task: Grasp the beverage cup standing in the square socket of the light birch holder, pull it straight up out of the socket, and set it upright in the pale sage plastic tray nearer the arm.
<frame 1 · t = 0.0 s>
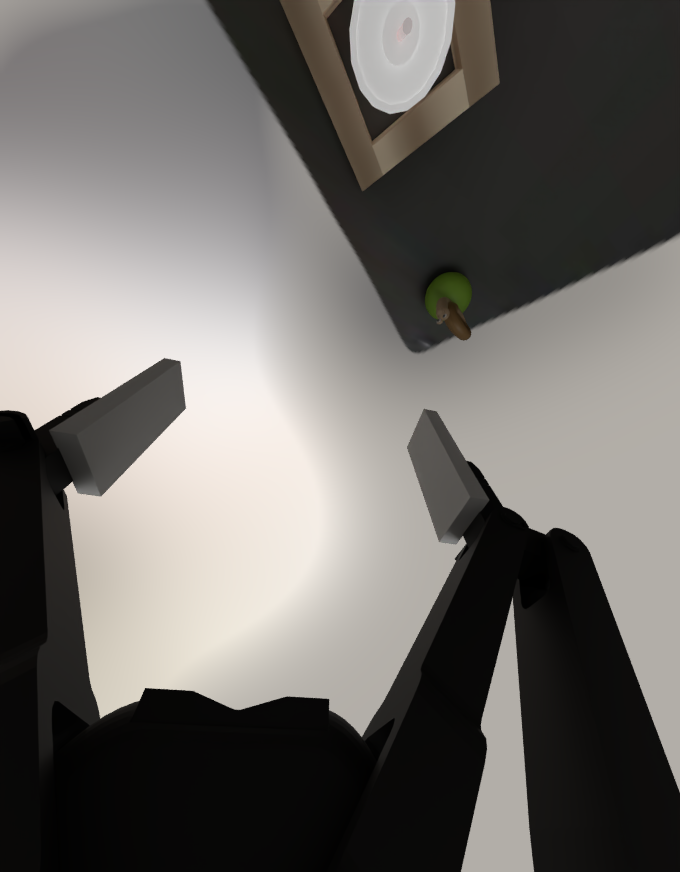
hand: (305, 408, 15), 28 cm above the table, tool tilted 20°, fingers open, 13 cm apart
beverage cup: (392, 45, 22), resting in socket holder
socket holder: (392, 44, 22), on the table
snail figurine: (441, 283, 36), on the table
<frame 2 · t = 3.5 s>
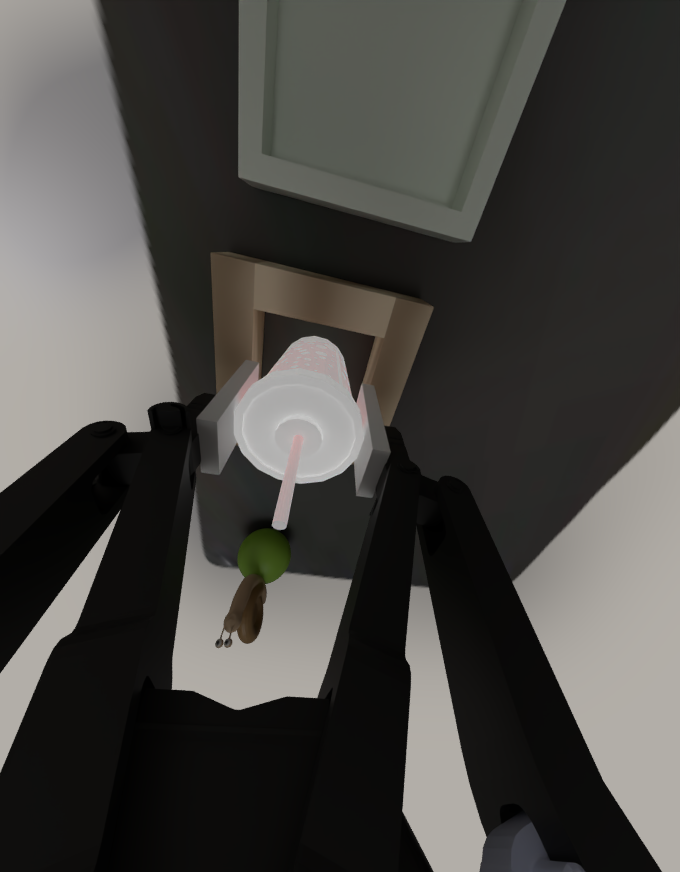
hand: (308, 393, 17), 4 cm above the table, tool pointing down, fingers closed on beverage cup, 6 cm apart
beverage cup: (314, 367, 20), resting in socket holder, touching gripper
socket holder: (314, 367, 20), on the table
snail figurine: (269, 529, 31), on the table
tray: (390, 52, 12), on the table
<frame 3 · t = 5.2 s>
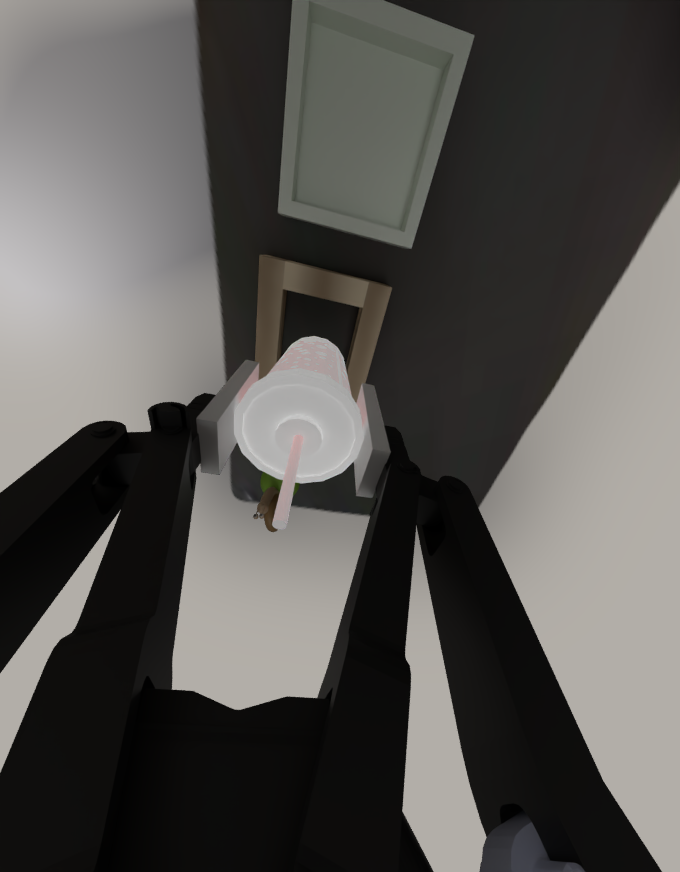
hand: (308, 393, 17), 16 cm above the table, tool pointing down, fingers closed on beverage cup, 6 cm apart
beverage cup: (314, 367, 20), point 12 cm above the table, touching gripper
socket holder: (318, 332, 30), on the table
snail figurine: (283, 465, 41), on the table
tray: (361, 145, 22), on the table
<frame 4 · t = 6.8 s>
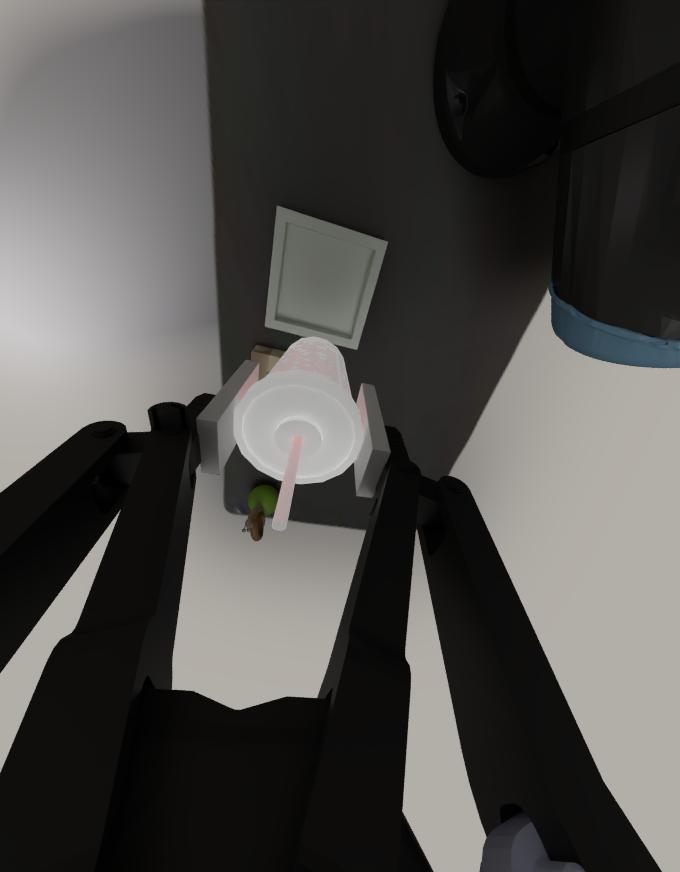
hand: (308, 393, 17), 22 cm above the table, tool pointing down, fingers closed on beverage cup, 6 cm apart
beverage cup: (314, 367, 20), point 18 cm above the table, touching gripper
socket holder: (294, 394, 41), on the table
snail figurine: (266, 486, 51), on the table
tray: (322, 284, 33), on the table
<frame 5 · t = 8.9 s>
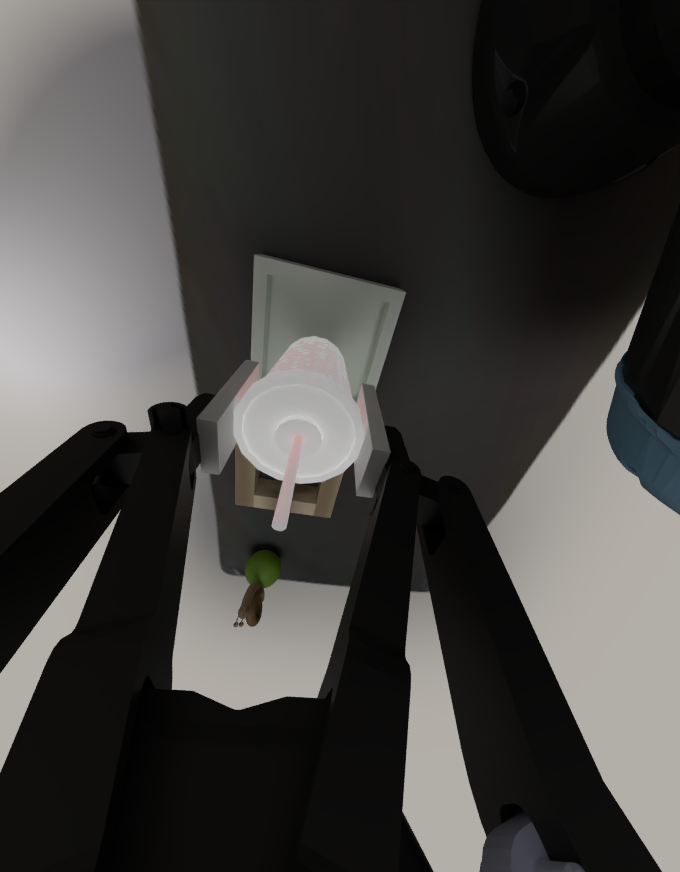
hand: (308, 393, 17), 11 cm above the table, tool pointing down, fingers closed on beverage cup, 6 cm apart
beverage cup: (314, 367, 20), point 7 cm above the table, touching gripper
socket holder: (292, 460, 34), on the table
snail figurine: (266, 549, 45), on the table
tray: (321, 341, 26), on the table
when the fingers open (6 cm above the table, at t = 10.5 s): beverage cup drops 1 cm, resting on tray.
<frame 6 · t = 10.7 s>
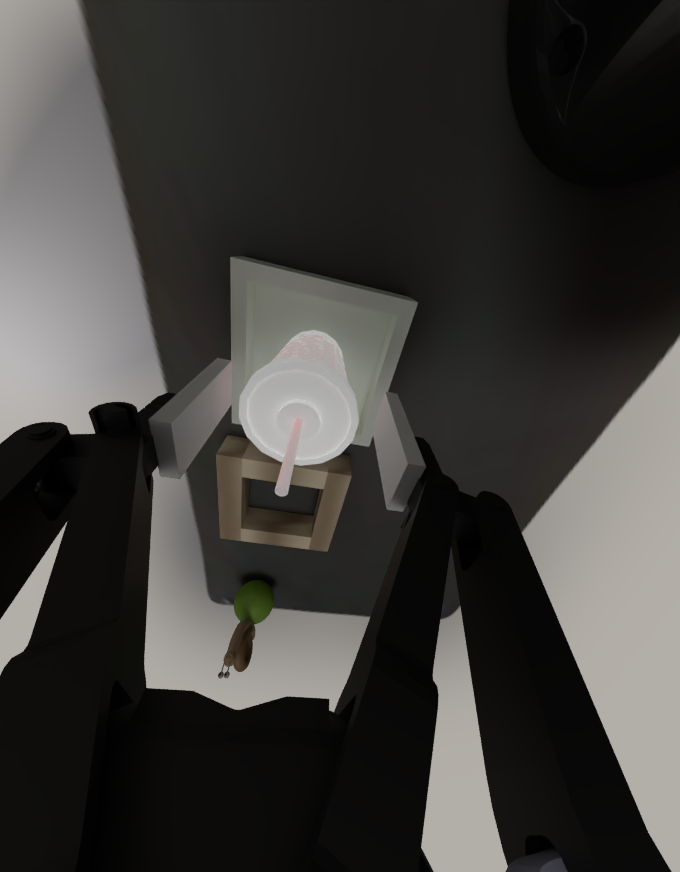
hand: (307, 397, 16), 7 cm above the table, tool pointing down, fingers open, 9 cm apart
beverage cup: (313, 359, 22), resting on tray
socket holder: (284, 488, 30), on the table
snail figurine: (258, 579, 41), on the table
tray: (315, 359, 22), on the table
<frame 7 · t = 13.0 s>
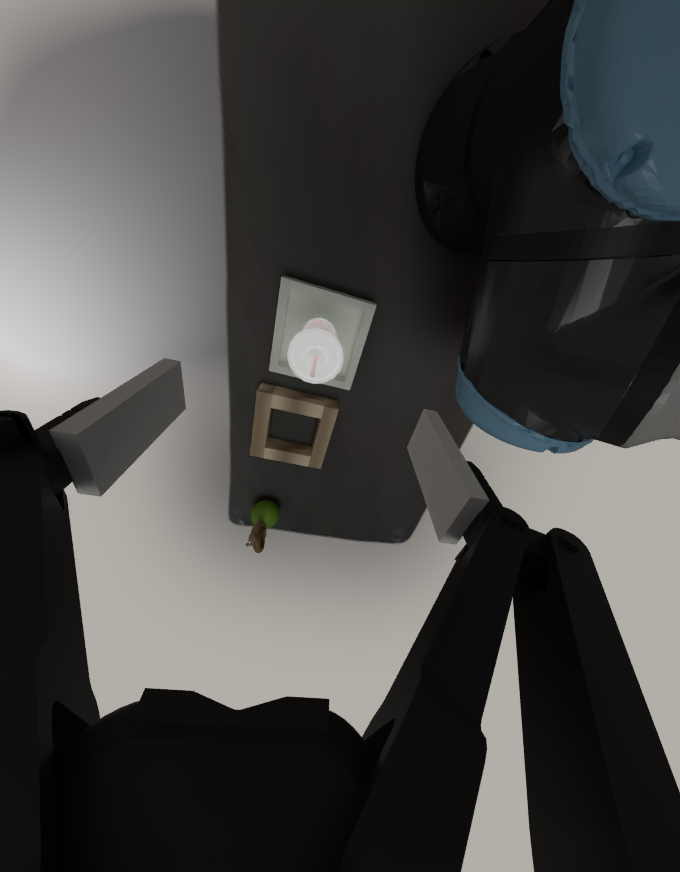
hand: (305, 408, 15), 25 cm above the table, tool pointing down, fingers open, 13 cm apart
beverage cup: (319, 335, 37), resting on tray
socket holder: (294, 423, 46), on the table
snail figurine: (267, 501, 56), on the table
tray: (320, 335, 38), on the table
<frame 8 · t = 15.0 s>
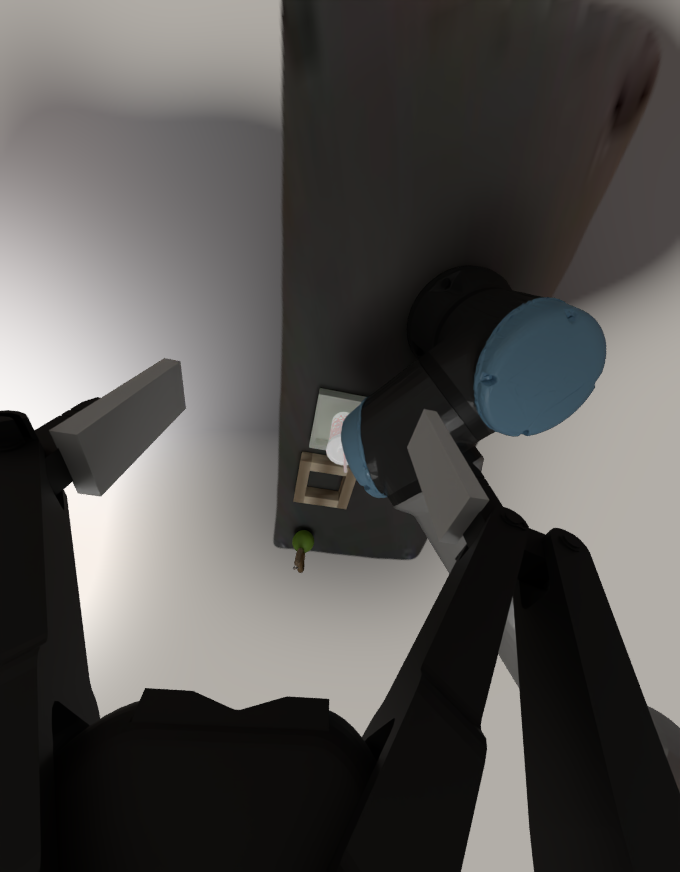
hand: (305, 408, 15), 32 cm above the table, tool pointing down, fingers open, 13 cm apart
beverage cup: (344, 421, 52), resting on tray
socket holder: (325, 476, 61), on the table
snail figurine: (304, 530, 72), on the table
tray: (344, 421, 53), on the table
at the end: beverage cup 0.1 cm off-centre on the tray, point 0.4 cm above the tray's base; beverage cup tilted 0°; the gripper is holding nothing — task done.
